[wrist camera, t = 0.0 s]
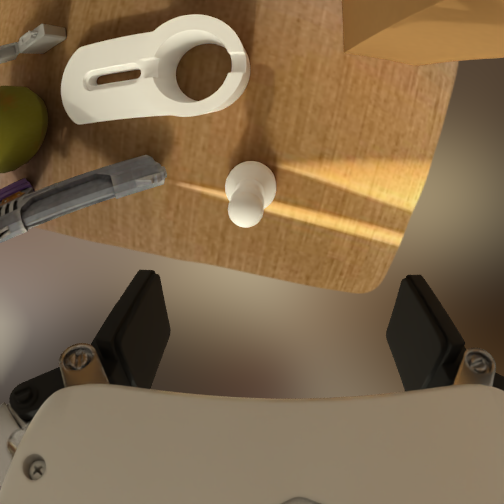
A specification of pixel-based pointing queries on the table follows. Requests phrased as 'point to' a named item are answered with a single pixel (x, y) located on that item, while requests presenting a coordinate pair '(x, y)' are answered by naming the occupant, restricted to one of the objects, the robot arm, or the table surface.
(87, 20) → the table surface
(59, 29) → the grey angled piece
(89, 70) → the bracket
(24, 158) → the apple
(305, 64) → the table surface
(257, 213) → the chess pawn
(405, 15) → the black-topped square pillar
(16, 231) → the handgun
